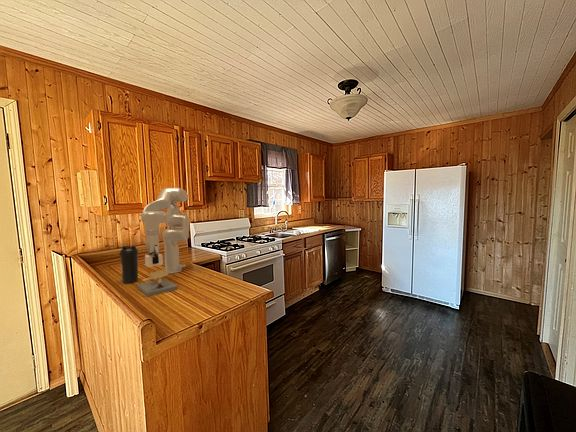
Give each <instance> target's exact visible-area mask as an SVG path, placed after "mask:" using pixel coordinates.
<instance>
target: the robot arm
mask: <svg viewBox="0 0 576 432" xmlns="http://www.w3.org/2000/svg"><path fill="white" fill-rule="evenodd" d="M188 198H189V196H188V192H187V191H186V190H185V189H183V188H181V187H163V188H162V189H161V190H160V193H159V195H158V196H157V199H156V200H154V201H151V202H150V203H148V204H147V205H145V207H144V208H143V209H142V212H141V216H140V221H141V222H142V223H144V232H145V233H144V234H145V235H144V236H145V237H146V239H145V249H146V252H148V255H151V254H153V257H152V260H153V264H157V263H159V257H158V253H159V252H160V238H159V236H160V235H162V241H163V246H164V247H163V248H164V249H163V251H164V269H168V275H169V274H170V275H171V274H178V273H180V272H182V271H183V269H182V268H187V264H186V263H185V264H180V252H179V251H180V250H179V249H180V248H179V245H178V243H176V242H186V241H187V240H188V239H189V236H190V235H189V232H190V217H189V216H188V214H183V213H181V214H180V207H179V206H178V205H177V203H183V202H184V203H185V202H187V201H188ZM163 210H166V212H165V211H163ZM164 223H165V224H166V226H167V227H169V228H166V229H163V231H162V233H161V232H160V224H164ZM160 233H161V234H160ZM159 254H160V253H159Z"/></svg>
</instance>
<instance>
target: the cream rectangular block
mask: <svg viewBox="0 0 576 432" xmlns="http://www.w3.org/2000/svg"><path fill="white" fill-rule="evenodd" d="M152 257H153V254H151V255H149V254H145V255H144V265H145V267H147V268H151V267H156V266H157V267H158V266H162V265H163V264H164V261H163V254H162V253H158V257H159V263H157V264H153V260H152Z"/></svg>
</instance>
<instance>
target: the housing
mask: <svg viewBox="0 0 576 432" xmlns="http://www.w3.org/2000/svg"><path fill="white" fill-rule="evenodd" d="M178 287H179V286H178V285H177V284H175V283H174V282H171V281H170V280H169V279H167V278H162V287H158V279H156V280H153V281H148V282H142V283H140V284H139V283H138V284H137V289H138V290H140V292H142V293H143V294H144V295H145V296H146V297H151V296H155V295H159V294H164V293H168V292H172V291H176V290H178Z"/></svg>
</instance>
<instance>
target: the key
mask: <svg viewBox="0 0 576 432" xmlns="http://www.w3.org/2000/svg"><path fill="white" fill-rule="evenodd" d="M168 275H169V274H168V269H165V268H163V269H159V270H156V271H152V272H150V277H147V278H141V279H142V282H145V281H149V280H158V287H162V279H163V277H166V276H168Z"/></svg>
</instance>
